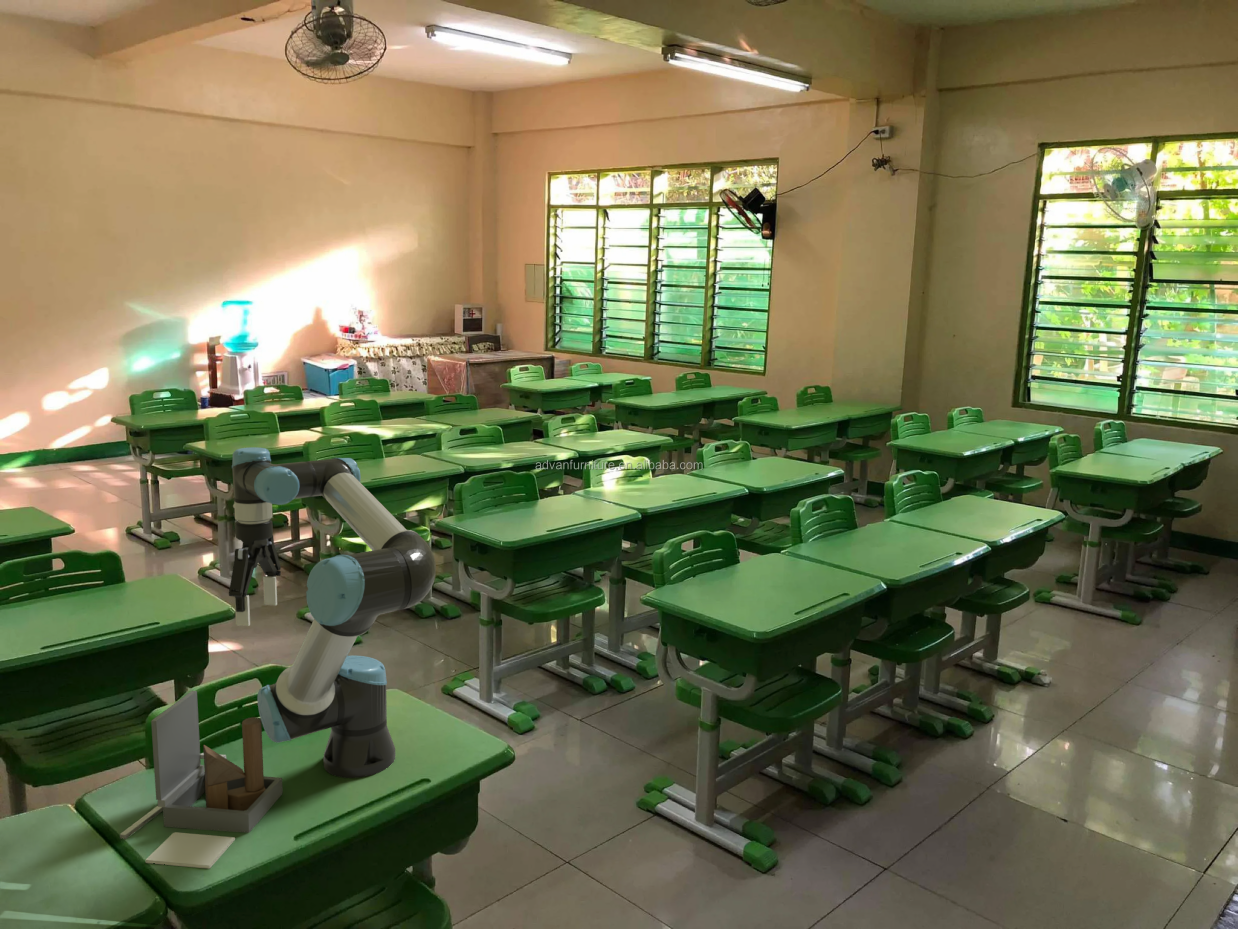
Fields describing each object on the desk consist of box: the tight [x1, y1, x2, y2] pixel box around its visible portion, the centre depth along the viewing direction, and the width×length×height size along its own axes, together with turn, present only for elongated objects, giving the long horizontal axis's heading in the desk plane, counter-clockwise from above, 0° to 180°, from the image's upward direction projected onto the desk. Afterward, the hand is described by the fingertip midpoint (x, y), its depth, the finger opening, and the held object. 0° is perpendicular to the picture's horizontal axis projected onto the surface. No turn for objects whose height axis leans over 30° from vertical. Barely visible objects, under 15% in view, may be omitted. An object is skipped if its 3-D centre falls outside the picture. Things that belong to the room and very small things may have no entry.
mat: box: [145, 832, 236, 870], centre depth 173 cm, size 12×9×1 cm
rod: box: [119, 805, 163, 840], centre depth 182 cm, size 12×1×1 cm, turn 168°
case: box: [150, 690, 284, 833], centre depth 186 cm, size 18×15×21 cm
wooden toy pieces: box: [202, 716, 266, 811], centre depth 186 cm, size 4×11×18 cm, turn 122°
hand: (257, 614), depth 207 cm, fingers open, 13 cm apart
